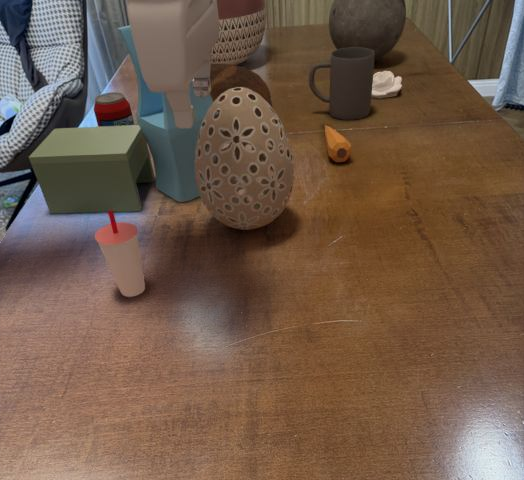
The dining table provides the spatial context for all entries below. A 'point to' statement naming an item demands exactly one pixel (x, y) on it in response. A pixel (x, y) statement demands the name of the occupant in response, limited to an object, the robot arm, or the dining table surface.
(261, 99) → the ornament
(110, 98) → the beverage can
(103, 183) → the sage green box
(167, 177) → the vase
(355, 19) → the decorative sphere
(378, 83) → the rose
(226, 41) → the planter
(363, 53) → the mug
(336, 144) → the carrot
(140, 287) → the cup
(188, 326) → the dining table surface
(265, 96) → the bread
